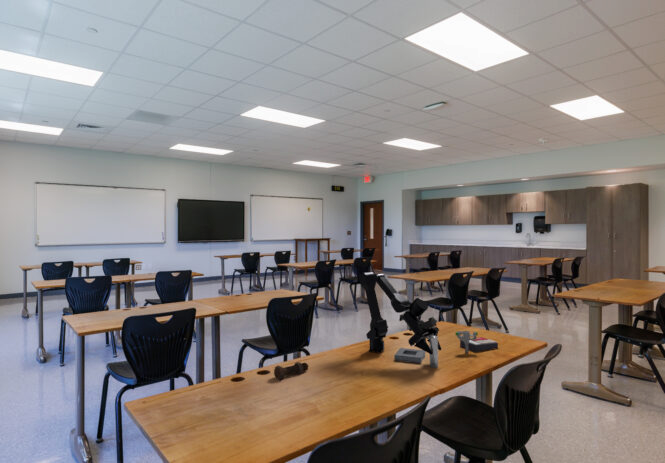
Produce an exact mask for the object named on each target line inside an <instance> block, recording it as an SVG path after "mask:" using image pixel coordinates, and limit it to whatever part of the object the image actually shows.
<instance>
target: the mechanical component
mask: <svg viewBox="0 0 665 463" xmlns="http://www.w3.org/2000/svg"><path fill="white" fill-rule="evenodd" d="M454 333H455V336H456V338H457V339H458V340H459V341H460V340H464V343H465V348H464V351H465V353H467V354H469V350H468V344H469V340H476V338H477V336H478V332H477V331H472V334H471V332H470V331H469V330H457V331H456V332H454ZM461 335H462V336H461Z"/></svg>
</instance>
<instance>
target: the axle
mask: <svg viewBox="0 0 665 463" xmlns="http://www.w3.org/2000/svg"><path fill="white" fill-rule="evenodd" d="M438 338H439V336H438V335H437V336H429V342H428V343H429V344H428V346H429V347H430V349H431V350H432V352H433V354H432V355H431V354H429V367H430V368H433V369H435V368H436V369H437V368H439V350H438V341H439V339H438Z"/></svg>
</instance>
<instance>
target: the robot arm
mask: <svg viewBox="0 0 665 463" xmlns="http://www.w3.org/2000/svg"><path fill="white" fill-rule="evenodd" d="M358 281H359V284H360V287H361V288H362V289H363V290H364V292H365V295H366V300H367V304H368V305H367V306H368V309H369V314H370V318H371V319H370V323H369V331H368V332H367V333H366V336H365V337H366V339H367V340H369V349H368V352H370V351H374V352H373V353H382V352H383V351H384V350H385V340H384V338H386V337H387V333H388V331H389V329H388V328H389V326H388V321H387V319H384V318H383V317H382V315H381V312H380V310H381V309H380V306H379V302H378V297H377V293H376V285H377V284H378V286H379V288H380V289H381V290H382V291H383V293H384V294H385V295H386V296H387V297H388V299H389V301H390V304H391V307H392V309H393V310H394V311H395V313H401V314H400V315H399V320H398V321H399V322H402V321H404V322H405V324H406V325H407V327H409V329H408V330H409V331H410V332H412V333H413V334H412V336H411V337H409V338H408V339H407V340H408V344H409V346H410V347H412V346H414V347H415V348H417V349H419V350H424V351H425V353H428V354H429V355H430V354H431V355H432V354H433V352H432V350H431V349H430V345H429V344H428V343H429V336H437V337H438V334H439V332H440V328H438V326H437V322H438V320H437V319H436V318H435V317H433V316H432V317H429V318H428V320H426V321H424V319H421V320H420V319H419V318H420V317H421V316H423V314H425V312H426V311H428V309H429V306H428V305H429V304H428V303H427V302H426V301H425V300H422V299H420V297H415V298H414V300H413V301H412V302H411V301H410V300H408V299H407V298H406V297H405V296H404V295H402V294H400V293H399V292H397V290H396V288H394V286H393V285H392V284H391V283H390V281H389V280H388V279H387V278H386V276H385V274H384V273H374V272H373V271H368V272H361V273H360V274H359V275H358ZM402 313H403V314H402ZM427 342H428V343H427ZM441 350H442V347H441V344H440V342H439V340H438V351H441Z"/></svg>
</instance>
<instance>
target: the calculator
mask: <svg viewBox="0 0 665 463" xmlns="http://www.w3.org/2000/svg"><path fill="white" fill-rule="evenodd" d="M459 342H460V343H459V346H460V348H463V349H465V343H464V340H459ZM498 346H499V342H497V340H496V341H495V340H492V339H489V338H485V337H482V336H480V337H476V340H469V344H468V351H471V352H474V353H479V352H482V351H490V350H495V349H494V348H496V349H499V348H498ZM489 349H490V350H489Z"/></svg>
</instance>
